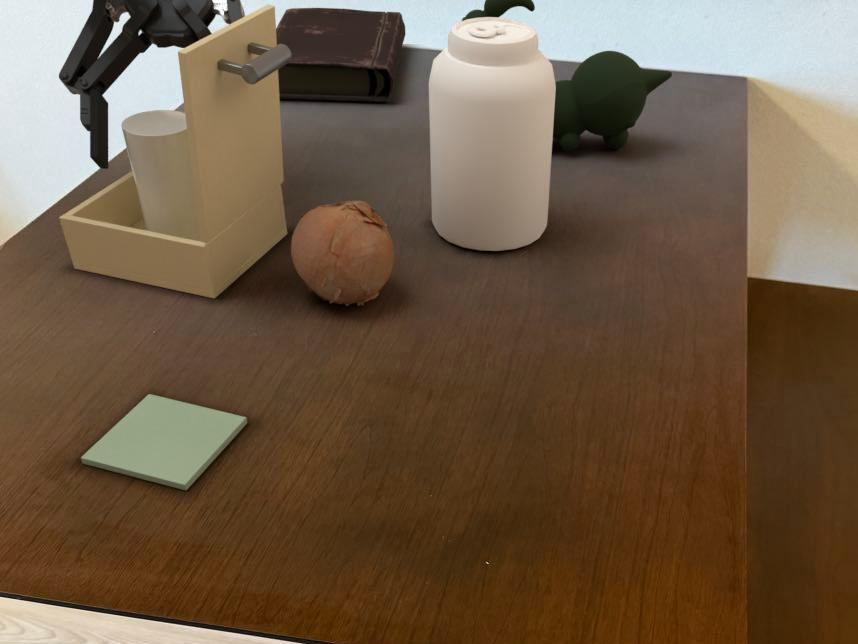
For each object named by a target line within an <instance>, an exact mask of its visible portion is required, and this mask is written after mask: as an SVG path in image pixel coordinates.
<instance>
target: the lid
mask: <svg viewBox="0 0 858 644" xmlns="http://www.w3.org/2000/svg"><path fill="white" fill-rule="evenodd" d="M276 22H277V21H276V6H275V5H272V4H265V5H264V6H262V7H260V8H258V9H257V10H254V11H252V12H250V13H249V14H247V15H245V17H243V18H241V19H239V20H237V21H235V22H234V23H232V24H230V25H229V24H227V25H226V26H224V27H222V28H220V29H217V30H216V31H214V32H211V33H212V34H211V35H209V36H207V37H205V38H203V39H201V40H199V41H197V42H195V43H193V44H191V45H189V46H188V47H186V48H181V49H180V50H178V51H177V56H178V57H177V58H178V65H179V74H180V83H181V90H182V98H183V99H182V100H183V108H184V113H185V117H186V125H187V133H188V142H189V150H190V158H191V167H192V175H193V184H194V192H195V200H196V209H197V217H198V225H199V234H200V241H201V242H204V243H208V242H209V241H211V240H212V239H213V238H214V237H216V236H217V235H218V234H219V233H221V232H222V231H223V230H224V229H226V228H227V227H228V226H229V225H231V224H232V223H233V222H234V221H236V220H237V219H238V218H239V217H241V216H242V215H243V214H244V213H245V212H247V211H248V210H249V209H250V208H252V207H253V206H254V205H255V204H257V203H258V202H259V201H260V200H262V199H263V198H264V197H265V196H267V195H268V194H269V193H270V192H272V191H273V190H274V189H275V188H277V187H278V186H279V185H282V184H283V183H284V182H285V181H284V180H285V179H284V161H283V141H282V139H283V138H282V122H281V121H282V120H281V102H280V100H281V98H279V79H278V69H279V68H281V67H283V66H284V65H286V64H287V63H289V62H290V61H291V51H290V49H289V48H288V47H287V46H286V45H284V44H278V45H277V40H276V28H277V24H276Z"/></svg>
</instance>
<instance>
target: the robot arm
mask: <svg viewBox="0 0 858 644" xmlns="http://www.w3.org/2000/svg"><path fill="white" fill-rule="evenodd" d="M91 8H92V9H91V12H90V14H89V16H88V17H87V20H86V21H85V23H84V25H83V27H82V29H81V30H80V33H79V35H78V36H77V38H76V40H75V43H74V44H73V46H72V48H71V50H70V51H69V54H68V56H67V58H66V60H65V62H64V63H63V65H62V67H61V69H60V71H59V73H58V78H59V80H60V82H61V83H62V84H63V85H64V87H65V88H66V89H67V91H68V92H69V93H70V94H72V95H79V120H80V123H81V125H82V126H83V127H84V129H85V130H86V131H87V132H89V157H90V159H91V160H92V162H94V163H95V164H96V165H97V167H99V169H101V170H104V169H105V170H106V169H107V170H108V169H109V102H108V101H107V100H106V98H105V96H103V95H104V94H105V93H106V92H107V91H108V90H109V88H110V87H111V86H112V85H113V84H115V82H116V81H117V80H118V79H119V78H120V76H121V75H122V74H123V73H124V72H125V71H126V69H127V68H128V67H129V66H130V65H131V64H132V63H133V62H134V61H135V59H137V57H138V56H139V55H140V54H144V53H146V51H148V49H149V48H150V47H151V46H152V45H155V46H156V47H157V48H160V49H166V48H171V47H177V48H180V49H184V48H186V47H188V46H189V45H191V44H193V43H195V42H197V41H199V40H201V39H203V38H205V37H207V36H209V35H211V34H212V33H213V32H212V31H211V30H210V29H209V27H210V25H211V23H212V22H213V21H214V19H215V18H216V16H220V17H221V18H222V19H223V22H224V23H225V24H227V25H230V24H232V23H234V22H235V21H237V20H239V19H241V18H243V17H245V16H246V14H245V13H246V12H245V9H244V6H243V4H242V1H241V0H92V7H91ZM125 13H128V15H129V18H128V19H127V20H126V21H125V23H124V24H123V25H122V28H121V32H120V33H119V34H118V35H117V37H116V38H114V40H113V41H112V42H111V43H110V44H109V45H108V47H106V49H105V50H104V48H105V45H106V43H107V42H108V40H109V38H110V36H111V34H112V32H113V29H114V26H115V23H119V22H120V21H121V20H120V19H121V16H122V14H125ZM140 32H141V33H140ZM139 33H140V34H139ZM103 50H104V51H103Z"/></svg>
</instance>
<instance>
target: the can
mask: <svg viewBox="0 0 858 644" xmlns="http://www.w3.org/2000/svg"><path fill="white" fill-rule="evenodd" d="M553 68H554V67H553V63H552V62H551V61H550V60H549V59H548V58H547V57H546V56H545V54H544V53H542V51H541V50H540V49H539V37H538V34H537V30H536V29H535V28H534V27H533V26H532V25H530V24H527V23H525V22H522V21H520V20H517V19H512V18H506V17H501V16H500V17H480V18H472V19H467V20H464V21H462V20H461V21H458V22H456V23H454V24H453V25H452V26H451V28H450V29H449V33H448V35H447V46H446V47H444V48H443V50H441V52H439V54H438V55H437V56H436V57H435V58H434V59H433V60H432V65H431V70H430V73H429V78H428V109H429V110H428V111H429V112H428V114H429V152H430V155H429V156H430V157H429V158H430V160H429V161H430V195H431V201H430V202H431V223H432V225H433V227H434V229H435V231H436V232H437V234H438V235H439V236H440V237H442V238H443V239H444V240H446V241H447V242H448V243H450V244H454V245H456V246H459V247H461V248H464V249H465V248H466V249H471V250H476V251H487V252H488V251H491V252H500V251H509V250H516V249H519V248H523V247H526V246H528V245H529V246H530V245H531V244H533V243H534V242H535V241H537V240H539V239H540V238H541V236H542V235H543V234H544V232H545V230H546V228H547V226H548V217H549V204H550V203H549V201H550V200H549V199H550V187H551V186H550V185H551V169H552V156H553V155H552V154H553V153H552V152H553V139H554V138H553V123H554V108H555V92H556V85H555V82H556V79H555V78H556V77H555V73H554V69H553Z"/></svg>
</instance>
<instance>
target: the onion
mask: <svg viewBox="0 0 858 644" xmlns="http://www.w3.org/2000/svg"><path fill="white" fill-rule="evenodd" d="M387 224H388V223H385V221H384V220H383V219H382V218H381V215H380V214H379V213H378V212H377V210H376V209H373V208H372V207H371V205H370V204H368V203H367V202H366V201H364V200H355V199H354V200H346V201H340V202H337V203H329V204H322V205H318V206H316V207H313V208H312V209H310V210H309V211H307V212H306V213H304V214H303V215H301V217H300V219H299V221H298V223H297V225H296V227H295V229H294V230H293V233H292V236H291V242H290V253H291V254H290V256H291V260H292V263H293V265H294V269H295V270H296V272H297V275H298V276H299V277H300V278H301V280H302V281H303V282H304V283H305V284H306V285H307V287H308V292H313V293H314V294H316V295H317V296H318V297H319V298H320V299H321V300H323V301H324V302H327V301H328V302H329V304H332V303H334V304H337V305H338V304H339V305H345V306H346V307H349V306H350V305H352V304H356V306H364V303H367V302H369V301H371V300H374V299H377V297H378V296H380V295H379V294H380V291H381V290H382V288H383V287H384V286H385V285H386V283H387V282H388V281H389V278H390V276H391V274H392V272H393V268H394V267H393V266H394V260H395V250H394V245H393V240H392V237H391V235H390V233H389V231H388V229H387V228H388V226H387Z"/></svg>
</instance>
